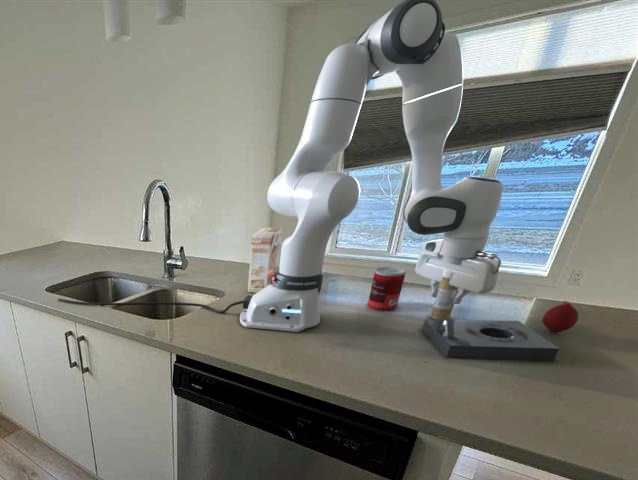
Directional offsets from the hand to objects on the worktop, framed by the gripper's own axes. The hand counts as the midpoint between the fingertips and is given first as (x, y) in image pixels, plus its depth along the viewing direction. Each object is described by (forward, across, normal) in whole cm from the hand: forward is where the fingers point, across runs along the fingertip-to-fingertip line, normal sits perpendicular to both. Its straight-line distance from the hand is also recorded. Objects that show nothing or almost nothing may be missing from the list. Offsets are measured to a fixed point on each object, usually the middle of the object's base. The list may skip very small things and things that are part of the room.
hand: (444, 300), depth 109 cm
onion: (+5, -18, -15) cm, 24 cm away
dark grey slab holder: (+5, -17, +5) cm, 18 cm away
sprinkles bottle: (+5, 0, 0) cm, 5 cm away
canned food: (+5, +13, +7) cm, 16 cm away
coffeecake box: (+5, +47, +28) cm, 55 cm away
